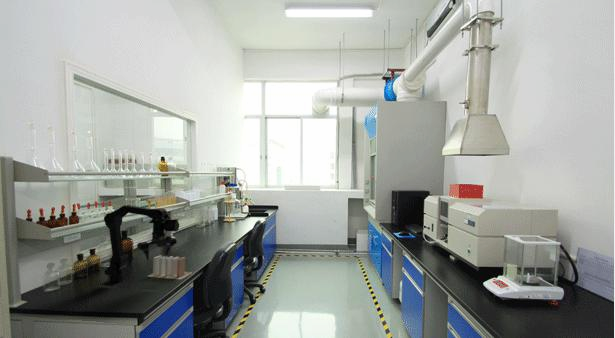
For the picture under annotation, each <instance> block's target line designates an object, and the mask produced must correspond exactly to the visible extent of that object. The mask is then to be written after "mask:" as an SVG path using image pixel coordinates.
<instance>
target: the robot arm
mask: <svg viewBox="0 0 615 338" xmlns="http://www.w3.org/2000/svg"><path fill="white" fill-rule="evenodd" d="M128 214H131V215H132V214H134V215H140V216H145V217H148V218H150V219H151V220H149V221H148V223H149V224H152V232H151V235H152V236H151V237H152V238H151V241H150V242H147V241H142V242H141V241H140V242H138V243H137V244H136V245H137V246H136V248H137V249H138V250H140V251H142V252H143V253H144V256H145V259H146V261H147V262H148V261H149V259H150V258H149V256H150V254H149V253H150V252H149V251H150V248H149V247H154V246H157V247H158V248H162V247H164V256H165V257H166V256H168V253H169V251H170V250H171V248H172V247H173V246H175V245H176V244H177V242H178V241H177V239H176V238H175V237H172V236H171V235H168V236H166V233H165V232H178V231H179V229H180V221H179V219H177V218H174V219H172V218H171V217H170V215H169V214H168V211H167V210H166V209H165V208H163V207H162V208H161V207H160V208H148V207H142V206H137V205H136V206H135V205H131V204H126V205H122V206H120V207H119V208H118V209H115V210H113V211H111V212H108V213H105V216H104V217H103V222H104V224H105V226H106V227H107V228H108V230H109V238H110V246H111V253H112V254H111V257H110V260H109V266H108V268H106V269H105V270H104V274H105V275H106V276H107V278H106V281H107V283H108V284H109V286H113V285H111V284H118V283H121V282H123V277H124V275H123V274H124V273H123V270H125V269H126V267H127V265H129V261H130V259H129V254H126V253H125V251H124V247H123V241H122V240H123V239H122V231H121V226H122V223H123V218H124V217H125V216H126V215H128Z"/></svg>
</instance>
